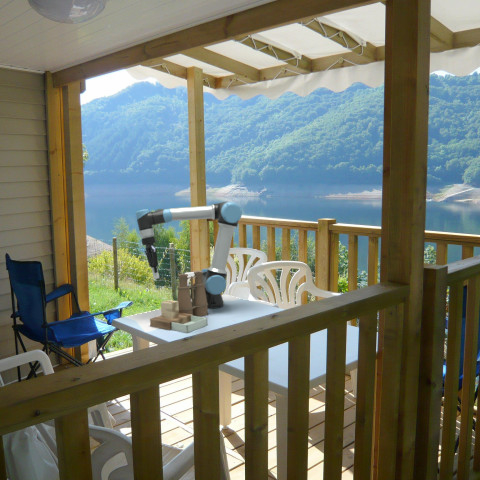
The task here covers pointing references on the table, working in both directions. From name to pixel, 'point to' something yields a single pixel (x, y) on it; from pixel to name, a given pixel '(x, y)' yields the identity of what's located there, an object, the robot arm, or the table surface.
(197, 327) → the tray
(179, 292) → the binoculars
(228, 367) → the table surface
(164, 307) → the block
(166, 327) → the board
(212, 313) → the table surface
